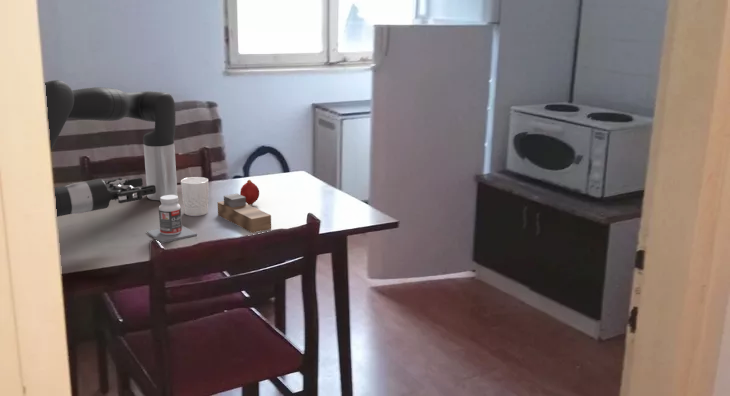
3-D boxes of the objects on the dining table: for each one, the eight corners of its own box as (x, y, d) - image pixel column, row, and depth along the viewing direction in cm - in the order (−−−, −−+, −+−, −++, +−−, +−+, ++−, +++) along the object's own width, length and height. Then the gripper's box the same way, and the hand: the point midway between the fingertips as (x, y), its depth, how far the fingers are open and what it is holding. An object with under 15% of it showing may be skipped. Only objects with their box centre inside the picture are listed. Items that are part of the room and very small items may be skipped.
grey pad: (146, 232, 201) (146, 231, 201) (180, 226, 207) (180, 224, 207) (161, 242, 194) (161, 241, 194) (196, 235, 200) (196, 233, 200)
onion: (241, 202, 231) (240, 177, 228) (260, 202, 231) (259, 177, 229) (240, 207, 225) (239, 182, 223) (259, 207, 225) (258, 181, 223)
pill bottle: (176, 236, 197) (174, 200, 194) (156, 235, 198) (154, 199, 195) (185, 230, 202) (183, 195, 200) (166, 228, 204) (164, 193, 201)
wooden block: (218, 215, 217) (217, 194, 215) (236, 211, 221) (235, 191, 219) (252, 233, 202) (251, 210, 200) (271, 228, 206) (270, 206, 204)
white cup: (215, 211, 221) (213, 178, 219) (198, 218, 214) (197, 184, 212) (193, 207, 224) (192, 175, 222) (177, 214, 218) (174, 181, 215)
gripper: (94, 188, 177) (158, 177, 187) (74, 175, 188) (136, 165, 197) (97, 218, 179) (161, 205, 189) (77, 204, 190) (138, 192, 200)
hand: (148, 185), depth 193 cm, fingers open, 8 cm apart
